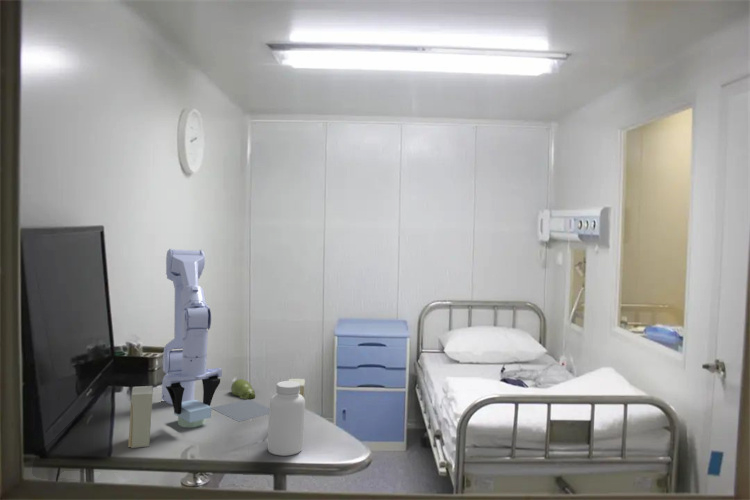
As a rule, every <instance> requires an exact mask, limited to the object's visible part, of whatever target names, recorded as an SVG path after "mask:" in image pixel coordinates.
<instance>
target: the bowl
mask: <svg viewBox="0 0 750 500" xmlns="http://www.w3.org/2000/svg"><path fill="white" fill-rule="evenodd" d="M206 420H207V418H206V419H202V420H198V421H194V422H190V423H189V422H187V421H186V420H184V419H182V418H180V417H178V416H177V425H178V426H180V427H182V428H196V427H200V426H203V425H204V424H205V423H206V422H207V421H206Z"/></svg>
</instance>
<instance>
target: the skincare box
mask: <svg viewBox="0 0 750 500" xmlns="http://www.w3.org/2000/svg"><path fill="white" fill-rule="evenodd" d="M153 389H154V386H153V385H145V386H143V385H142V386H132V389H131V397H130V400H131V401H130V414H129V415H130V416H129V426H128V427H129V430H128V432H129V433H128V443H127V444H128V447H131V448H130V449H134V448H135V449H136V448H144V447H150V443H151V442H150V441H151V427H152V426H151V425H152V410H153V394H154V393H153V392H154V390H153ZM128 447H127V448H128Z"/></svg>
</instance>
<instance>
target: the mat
mask: <svg viewBox="0 0 750 500" xmlns="http://www.w3.org/2000/svg"><path fill="white" fill-rule="evenodd" d="M269 409H270V407H268V406H266V405H263V404H262V403H258V402H256V401H253V400H252V399H242V400H238V401H234V402H230V403H226V404H222V405H217V406H211V410H213V411H215V412H218V413H220V414H221V415H224V416H226V417H228V418H231V419H232V420H233V421H237V422H238V423H240V422H244V421H247V420H251V419H255V418H258V417H259V418H260V417H264V416H265V415H269Z"/></svg>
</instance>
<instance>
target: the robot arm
mask: <svg viewBox="0 0 750 500" xmlns="http://www.w3.org/2000/svg"><path fill="white" fill-rule="evenodd" d="M205 262H206V255H205V252H204V251H203V250H202V249H198V250H197V249H196V250H193V249H192V250H191V249H172V248H169V249H168V250H167V251H166V258H165V265H166V266H165V267H166V268H165V271H166V273H165V274H166V279H167V280H169V281H171V282H173V283H172V284H173V288H174V324H173V325H174V327H173V328H174V338H173V339H172V340H170V341H169V342H168V343H166V344H165V345H164V348H163V356H162V371H163V372H164V373H165V374H164V376H163V378H162V382H161V383H162V385H161V400H162V399H163V400H164V401H166V403H167V404H169V405H172V407H173V414H174V413H176V414H181V410H182V402H185V401H189V400H194V399H195V392H196V390H195V387H196V381H202V389H203V390H202V391H203V395H202V396H203V397H202V403H204V404H207V405H209V406H211V403H212V401H213V397H214V395H215V393H216V390H217V388H218V387H219V385H220V383H221V378H222V377H223V369H222V368H220V367H216V368H207V361H208V339H209V338H208V335H209V331H208V330H210V329H211V325H212V310H211V308H210V307H211V306H209V304H207V302H206V297H205V291H204V288H202V286H200V285H199V280H200V278H201V276H202V274H203V271H204V269H205V266H206V265H205V264H206V263H205Z"/></svg>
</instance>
